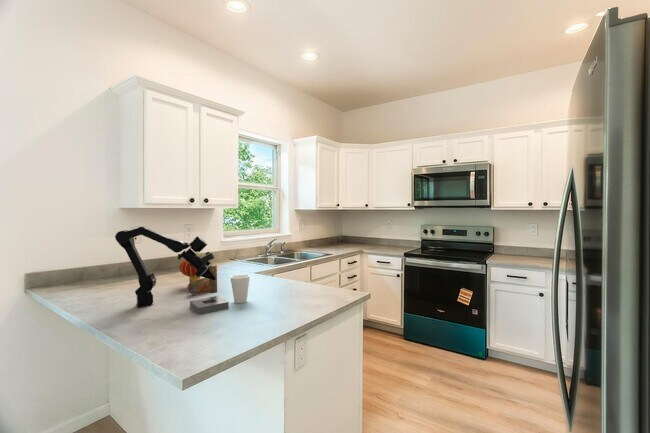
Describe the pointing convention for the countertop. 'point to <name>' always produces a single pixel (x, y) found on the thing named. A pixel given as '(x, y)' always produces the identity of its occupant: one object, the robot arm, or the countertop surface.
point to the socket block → (209, 304)
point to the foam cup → (240, 287)
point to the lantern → (189, 270)
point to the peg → (213, 282)
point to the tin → (198, 286)
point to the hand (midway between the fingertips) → (215, 278)
